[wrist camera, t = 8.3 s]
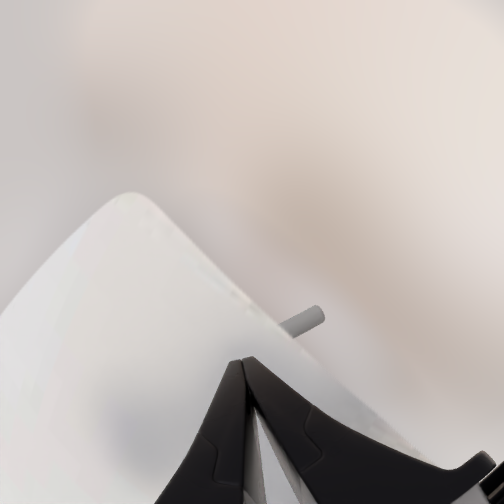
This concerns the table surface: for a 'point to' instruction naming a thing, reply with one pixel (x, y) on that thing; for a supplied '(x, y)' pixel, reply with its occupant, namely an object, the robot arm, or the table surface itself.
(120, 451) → the table surface
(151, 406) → the table surface
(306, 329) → the beverage can
